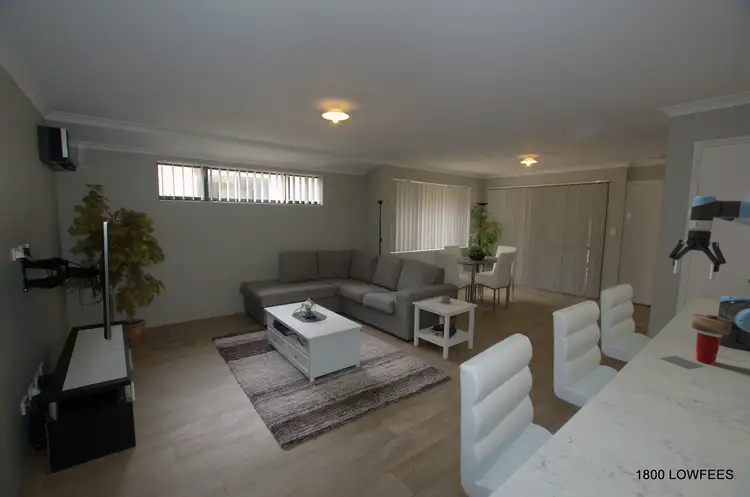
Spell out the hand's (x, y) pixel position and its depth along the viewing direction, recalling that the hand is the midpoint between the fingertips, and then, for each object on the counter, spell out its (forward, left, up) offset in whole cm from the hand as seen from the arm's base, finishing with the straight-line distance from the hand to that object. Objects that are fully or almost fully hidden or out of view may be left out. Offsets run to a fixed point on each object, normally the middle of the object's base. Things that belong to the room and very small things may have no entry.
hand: (693, 276), depth 155 cm
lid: (+16, +16, -19) cm, 29 cm away
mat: (+27, +14, -33) cm, 45 cm away
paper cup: (+16, +16, -33) cm, 40 cm away
